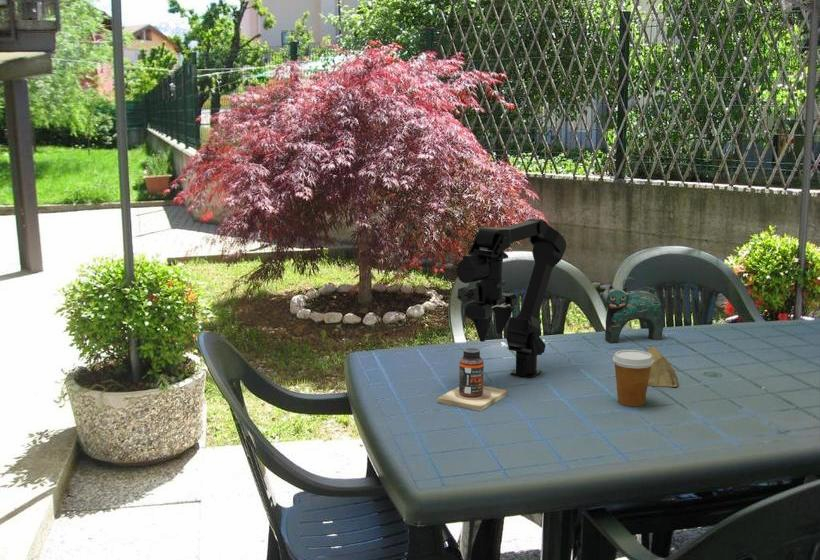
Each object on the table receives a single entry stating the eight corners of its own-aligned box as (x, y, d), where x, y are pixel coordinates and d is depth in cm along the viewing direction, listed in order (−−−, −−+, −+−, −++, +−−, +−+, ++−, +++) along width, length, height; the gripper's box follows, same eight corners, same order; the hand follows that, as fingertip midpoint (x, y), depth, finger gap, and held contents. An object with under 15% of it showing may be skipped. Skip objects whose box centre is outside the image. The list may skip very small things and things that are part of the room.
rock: (689, 377, 224) (660, 363, 231) (680, 356, 219) (651, 343, 227) (664, 405, 221) (635, 390, 229) (654, 385, 216) (626, 371, 224)
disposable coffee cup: (629, 411, 205) (631, 362, 203) (603, 399, 213) (604, 352, 211) (660, 404, 209) (662, 356, 207) (632, 393, 218) (634, 347, 215)
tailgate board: (467, 386, 225) (467, 381, 224) (509, 393, 218) (509, 388, 218) (437, 402, 212) (437, 397, 212) (480, 411, 206) (480, 405, 206)
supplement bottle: (471, 399, 210) (472, 354, 208) (454, 394, 214) (454, 349, 212) (488, 394, 214) (488, 349, 212) (470, 388, 218) (470, 345, 216)
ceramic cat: (606, 344, 263) (608, 280, 260) (597, 339, 270) (599, 276, 266) (666, 340, 267) (669, 277, 264) (656, 335, 274) (659, 273, 270)
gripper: (480, 269, 231) (480, 326, 234) (445, 280, 216) (444, 341, 219) (518, 273, 225) (517, 331, 228) (484, 284, 210) (484, 347, 213)
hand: (490, 337), depth 222 cm, fingers open, 9 cm apart
